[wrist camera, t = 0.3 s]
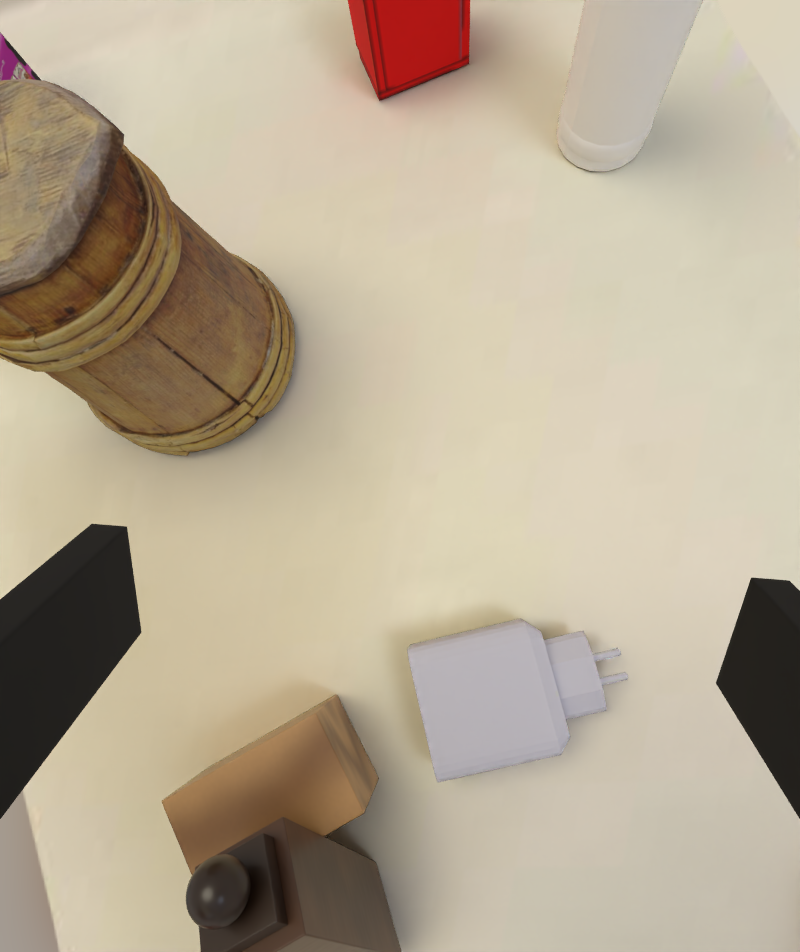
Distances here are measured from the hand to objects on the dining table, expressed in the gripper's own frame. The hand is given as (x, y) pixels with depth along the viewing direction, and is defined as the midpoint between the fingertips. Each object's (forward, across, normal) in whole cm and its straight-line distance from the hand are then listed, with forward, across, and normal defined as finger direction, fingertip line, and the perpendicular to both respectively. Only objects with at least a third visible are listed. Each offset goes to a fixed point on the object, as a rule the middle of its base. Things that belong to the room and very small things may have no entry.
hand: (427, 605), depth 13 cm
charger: (+26, -8, +24) cm, 36 cm away
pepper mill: (+19, +5, +36) cm, 41 cm away
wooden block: (+22, +9, +32) cm, 40 cm away
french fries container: (+57, +4, -23) cm, 62 cm away
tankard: (+41, +24, +5) cm, 47 cm away
